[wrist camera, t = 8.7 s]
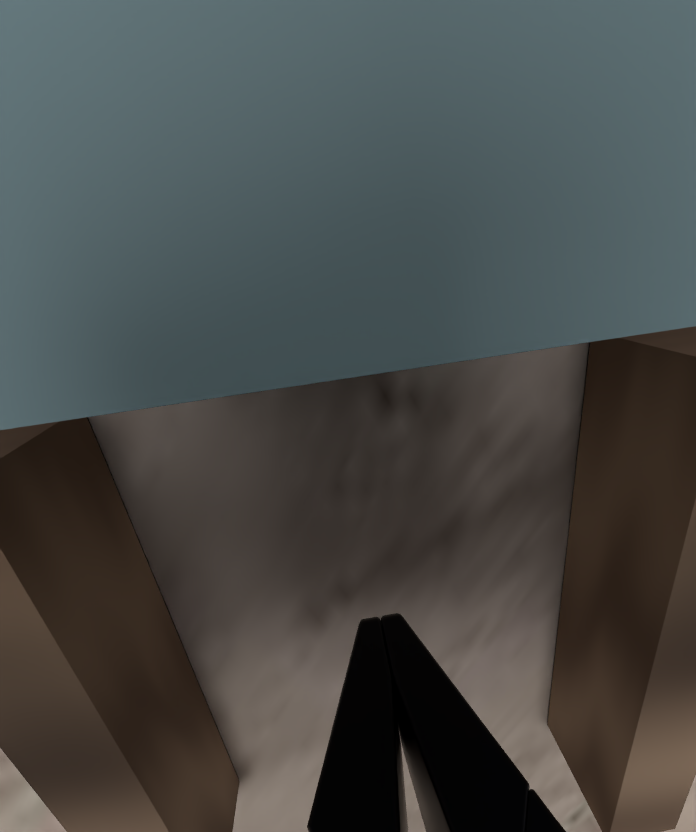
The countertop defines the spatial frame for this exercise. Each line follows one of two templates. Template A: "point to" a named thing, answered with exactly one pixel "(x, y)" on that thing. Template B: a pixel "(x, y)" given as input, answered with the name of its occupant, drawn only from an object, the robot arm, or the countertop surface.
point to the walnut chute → (180, 692)
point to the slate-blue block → (332, 190)
